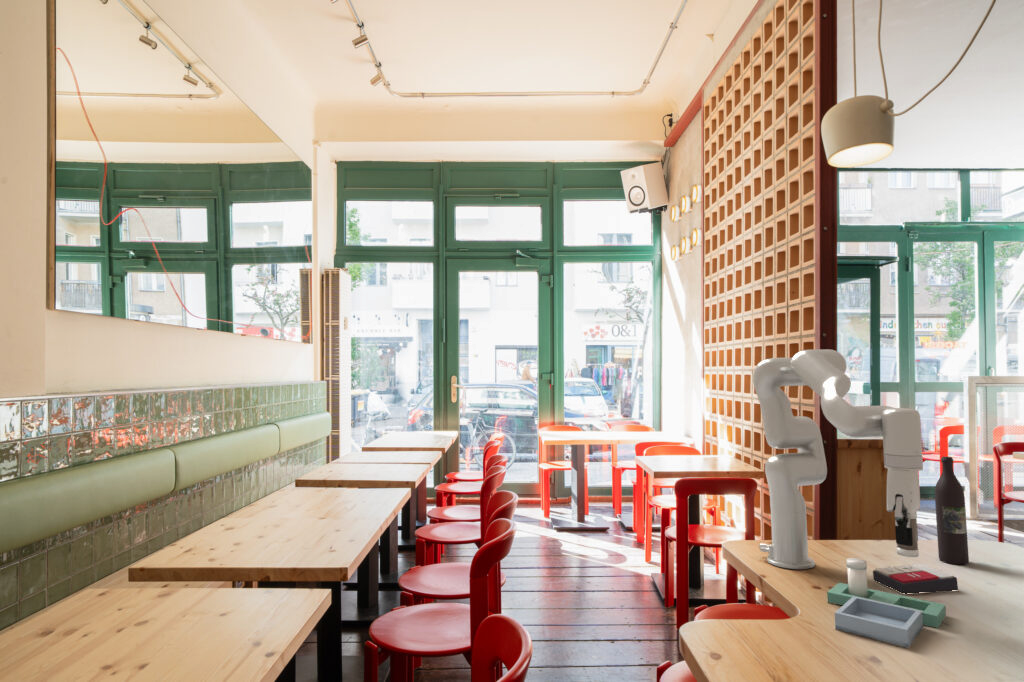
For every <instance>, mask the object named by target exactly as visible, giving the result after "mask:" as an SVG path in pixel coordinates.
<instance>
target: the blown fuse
mask: <svg viewBox="0 0 1024 682" xmlns="http://www.w3.org/2000/svg"><path fill="white" fill-rule="evenodd" d="M917 512H918V510H917V511H915V512H914V513H912V514H910V528H912V533H913V545H912V546H907V545H901V544H897V543H896V554H897V555H899V556H902V557H907V558H918V557H920V553H919V547H918V545H919V544H918V541H919V540H918V541H917V532H918V523H917V522H918V521H916V518H917V519H918V516H917V515H918V513H917ZM903 513H907V512H906V511H903ZM903 517H905V518H906V521H907V516H903Z"/></svg>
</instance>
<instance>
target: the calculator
mask: <svg viewBox="0 0 1024 682" xmlns="http://www.w3.org/2000/svg"><path fill="white" fill-rule="evenodd" d="M872 576H873V581H874V580H875V581H874V582H876V581H877V582H876V583H878V582H880V583H881V584H880V583H879V584H880V585H882V584H884V585H886V586H888V587H887V588H889V587H891V588H893V589H895V590H897V591H899V592H901V593H905V594H907V593H919V592H933V593H937V592H936V591H941V592H942V591H952V590H958V591H959V585H958V578H957V577H956V576H954V575H953V574H950V573H948V572H945V571H942V570H940V569H937V568H934V567H932V566H930V565H927V564H924V563H919V564H912V565H910V564H905V565H904V564H902V565H896V566H893V567H892V566H887V567H879V568H877V567H876V568H875V569H874V570H872ZM884 585H883V586H884ZM886 586H885V587H886ZM891 588H890V589H891ZM893 589H892V590H893ZM895 590H894V591H895ZM897 591H896V592H897ZM899 592H898V593H899ZM901 593H900V594H901Z"/></svg>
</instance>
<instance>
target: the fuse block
mask: <svg viewBox="0 0 1024 682" xmlns="http://www.w3.org/2000/svg"><path fill="white" fill-rule="evenodd" d="M867 589H868V598H865V599H870V600H874V601H879V602H883V603H888V604H893V605H897V606H902V607H906V608H911V609H916V610H920V611H922V616H923V626H928V627H931V628H937V629H938V628H939V626H940V625H941V624H942V622H943V621H944V619H945V618H944V617H945V616H947V613H946V612H947V611H946V610H947V609H946V604H945V603H940V602H934V601H931V600H927V599H926V600H925V599H921V598H916V597H911V596H906V595H903V594H898V593H897V594H896V593H892V592H887V591H886V592H885V591H882V590H878V589H872V588H868V587H867ZM826 593H827V595H826V597H827V603H828V602H829V604H832V603H835V604H834V605H836V604H839V605H838V606H840V605H844V604H845V603H846V602H847V601H848V600H850V599H851V598H852V597H853V596H854V595H849V590H848V583H845V582H838V583H836V584H835V585H834V586H833V587H831V589H829V590H828V591H827V592H826ZM856 597H858V596H856ZM860 598H863V597H860Z"/></svg>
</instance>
